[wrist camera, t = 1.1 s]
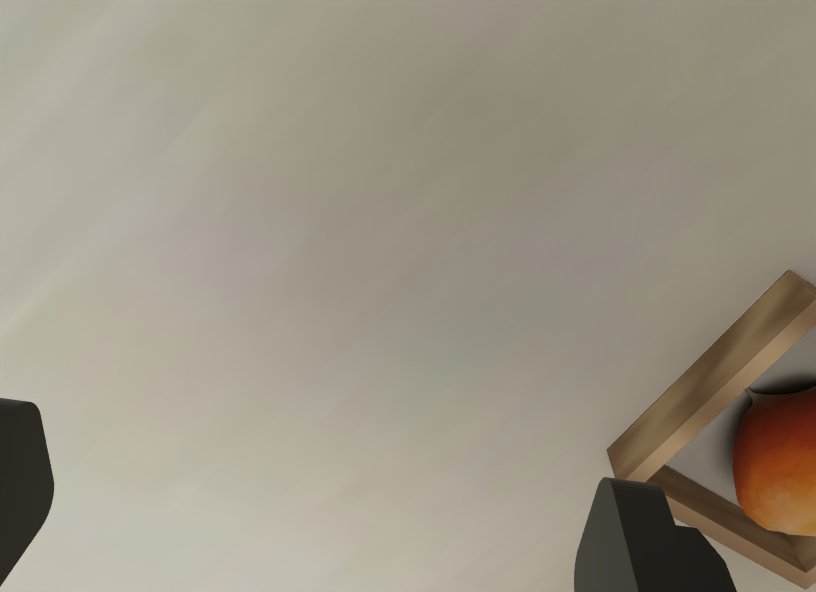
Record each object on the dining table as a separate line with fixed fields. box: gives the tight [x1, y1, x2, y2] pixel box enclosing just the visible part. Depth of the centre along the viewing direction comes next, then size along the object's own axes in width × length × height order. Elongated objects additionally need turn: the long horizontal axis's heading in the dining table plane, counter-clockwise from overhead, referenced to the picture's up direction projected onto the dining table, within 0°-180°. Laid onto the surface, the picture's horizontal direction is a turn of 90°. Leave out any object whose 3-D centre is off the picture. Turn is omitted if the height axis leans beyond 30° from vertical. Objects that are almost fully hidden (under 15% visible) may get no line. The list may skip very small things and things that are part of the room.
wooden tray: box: [607, 270, 816, 590], centre depth 38 cm, size 14×14×3 cm
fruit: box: [733, 385, 816, 537], centre depth 36 cm, size 8×8×8 cm
